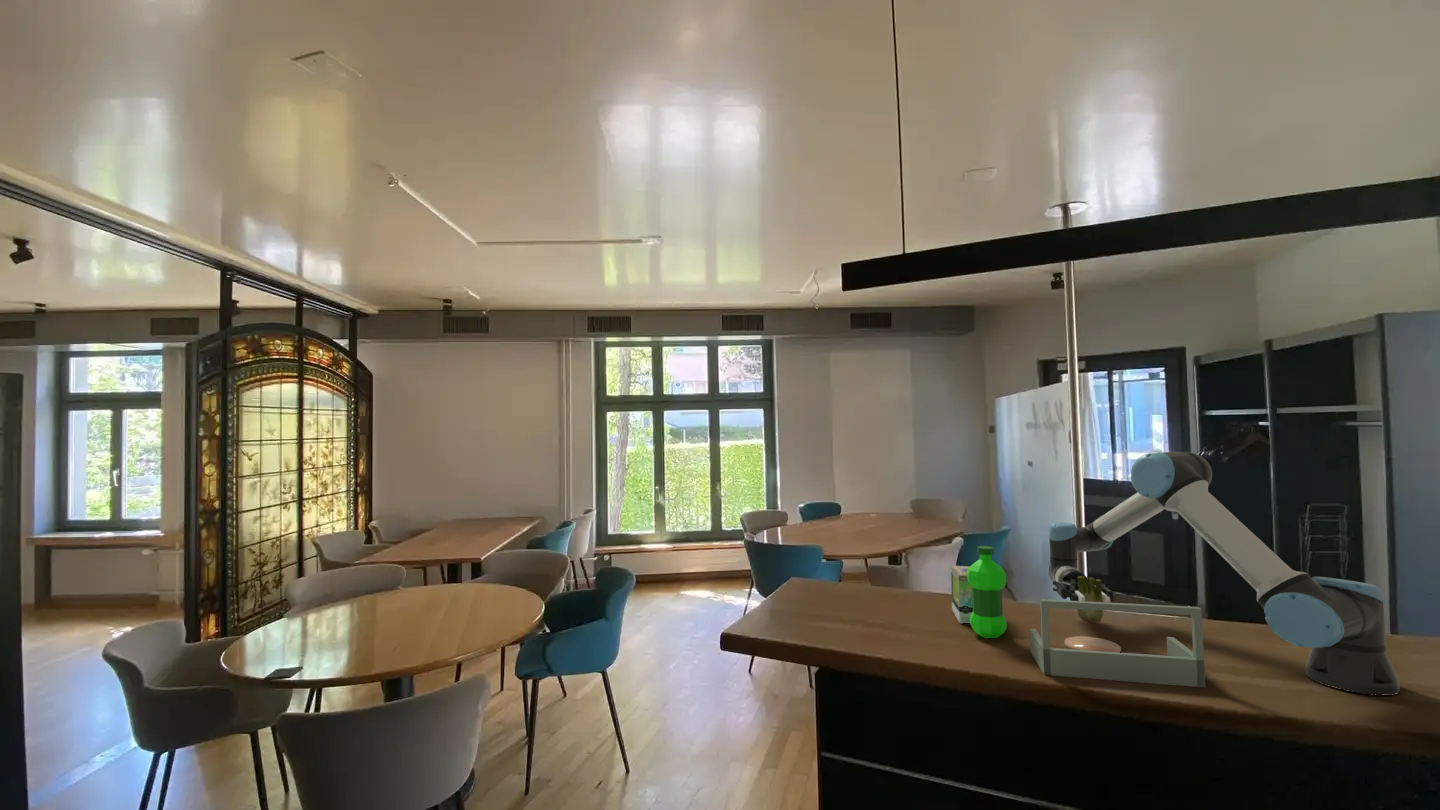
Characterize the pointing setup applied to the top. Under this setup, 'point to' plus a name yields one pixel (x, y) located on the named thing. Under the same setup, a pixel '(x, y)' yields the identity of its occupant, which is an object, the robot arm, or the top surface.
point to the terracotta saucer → (1091, 644)
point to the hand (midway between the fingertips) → (1095, 602)
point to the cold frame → (1122, 666)
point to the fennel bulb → (1090, 599)
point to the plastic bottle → (987, 595)
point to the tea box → (961, 594)
